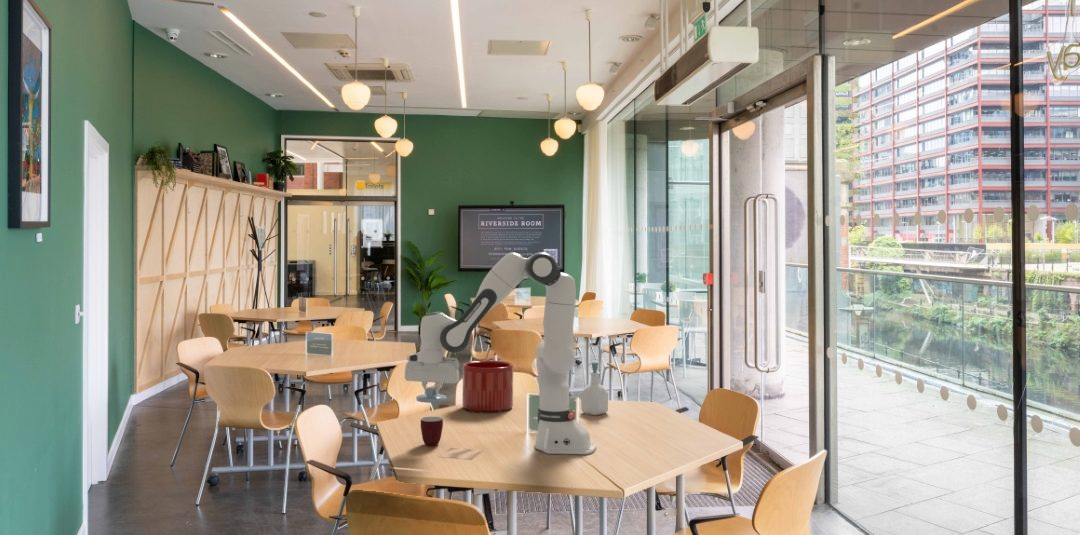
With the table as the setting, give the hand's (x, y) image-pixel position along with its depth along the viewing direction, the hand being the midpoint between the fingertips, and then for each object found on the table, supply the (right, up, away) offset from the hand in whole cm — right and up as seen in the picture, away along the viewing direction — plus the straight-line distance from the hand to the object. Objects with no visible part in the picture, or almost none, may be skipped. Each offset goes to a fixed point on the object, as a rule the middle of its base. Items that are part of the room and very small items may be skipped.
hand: (431, 394), depth 262 cm
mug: (0, -20, 0) cm, 20 cm away
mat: (+12, -20, -10) cm, 25 cm away
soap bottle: (+64, -19, +59) cm, 89 cm away
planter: (+16, -18, +68) cm, 72 cm away
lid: (0, -2, 0) cm, 2 cm away
